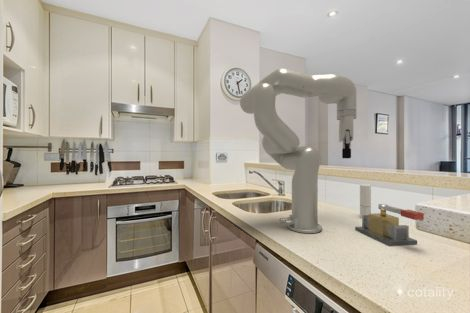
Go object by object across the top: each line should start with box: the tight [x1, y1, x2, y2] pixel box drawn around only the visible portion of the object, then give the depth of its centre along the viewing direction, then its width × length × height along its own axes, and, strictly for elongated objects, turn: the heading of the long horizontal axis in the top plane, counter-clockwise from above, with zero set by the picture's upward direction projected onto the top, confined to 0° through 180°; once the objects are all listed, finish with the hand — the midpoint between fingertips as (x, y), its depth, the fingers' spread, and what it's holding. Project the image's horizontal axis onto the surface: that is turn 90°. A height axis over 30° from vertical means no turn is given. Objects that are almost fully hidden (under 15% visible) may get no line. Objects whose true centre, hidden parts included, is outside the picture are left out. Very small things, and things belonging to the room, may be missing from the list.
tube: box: [359, 183, 372, 219], centre depth 98 cm, size 4×4×15 cm
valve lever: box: [378, 203, 425, 221], centre depth 69 cm, size 14×3×2 cm, turn 8°
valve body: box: [354, 209, 418, 247], centre depth 74 cm, size 10×15×9 cm, turn 8°
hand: (346, 158), depth 92 cm, fingers closed
